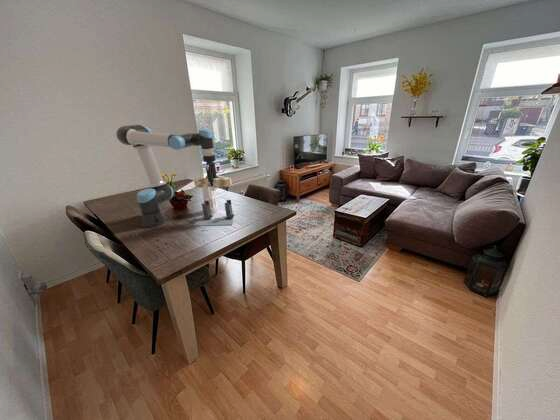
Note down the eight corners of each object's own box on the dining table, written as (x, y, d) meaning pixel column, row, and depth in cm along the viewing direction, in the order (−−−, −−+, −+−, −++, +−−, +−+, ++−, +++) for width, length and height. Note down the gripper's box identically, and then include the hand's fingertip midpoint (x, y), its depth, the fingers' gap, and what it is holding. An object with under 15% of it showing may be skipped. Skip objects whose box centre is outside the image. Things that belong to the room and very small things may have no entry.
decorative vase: (214, 214, 166) (209, 182, 156) (201, 214, 168) (195, 182, 158) (221, 209, 176) (216, 178, 166) (208, 208, 178) (203, 178, 168)
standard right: (225, 219, 157) (222, 203, 152) (227, 215, 164) (225, 199, 159) (232, 219, 157) (230, 203, 152) (234, 215, 164) (232, 199, 159)
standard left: (203, 220, 158) (199, 204, 153) (206, 216, 164) (203, 200, 159) (210, 220, 158) (207, 203, 153) (212, 215, 164) (210, 200, 159)
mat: (193, 226, 150) (193, 225, 149) (197, 221, 156) (197, 221, 156) (231, 225, 149) (231, 224, 149) (233, 220, 155) (233, 219, 155)
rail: (195, 187, 150) (194, 180, 148) (197, 185, 153) (196, 178, 151) (230, 186, 149) (229, 179, 147) (231, 184, 153) (231, 177, 151)
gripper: (210, 157, 135) (216, 193, 144) (218, 152, 151) (222, 185, 160) (198, 157, 135) (204, 193, 144) (207, 153, 151) (212, 186, 160)
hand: (214, 189), depth 152 cm, fingers closed on rail, 4 cm apart
